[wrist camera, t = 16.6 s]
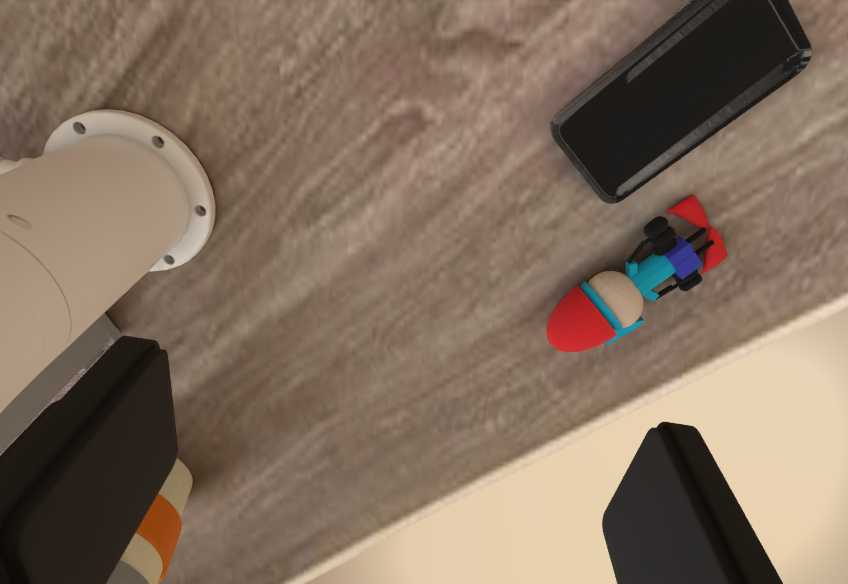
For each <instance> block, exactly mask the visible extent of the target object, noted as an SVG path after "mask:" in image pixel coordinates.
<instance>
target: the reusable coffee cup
mask: <svg viewBox="0 0 848 584" xmlns="http://www.w3.org/2000/svg"><path fill="white" fill-rule="evenodd" d="M192 483H193V480H192V476H191V473H190V471H189V469H188V468H187V467H186V466H185V464H184V463H182V462H181V461H180V460H179V459H178V458H176V462H175V464H174V467H173V469H172V470H171V472H170V474H169V476H168V477H167V479H166V481H165V483H164V484H163V486H162V488H161V490H160V491H159V493H158V495H157V496H156V498H155V500H154V502H153V503H152V505H151V507H150V509H149V510H148V512H147V514H146V516H145V517H144V519H143V521H142V522H141V524H140V526H139V528H138V529H137V531H136V533H135V535H134V536H133V538H132V540H131V542H130V543H129V545H128V547H127V548H126V550H125V552H124V554H123V555H122V557H121V559H120V561H119V562H118V564H117V566H116V568H115V569H114V571H113V573H112V574H111V576H110V578H109V580H108V581H107V583H106V584H158V583H159V582H160V581H161V580H162V579H163V578H164V577H165V574H166V572H167V569H168V566H169V563H170V561H171V558H172V555H173V552H174V549H175V546H176V543H177V540H178V537H179V535H180V532H181V525H182V523H181V516H182V513H183V511H184V508H185V505H186V502H187V499H188V496H189V494H190V491H191V488H192Z"/></svg>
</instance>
